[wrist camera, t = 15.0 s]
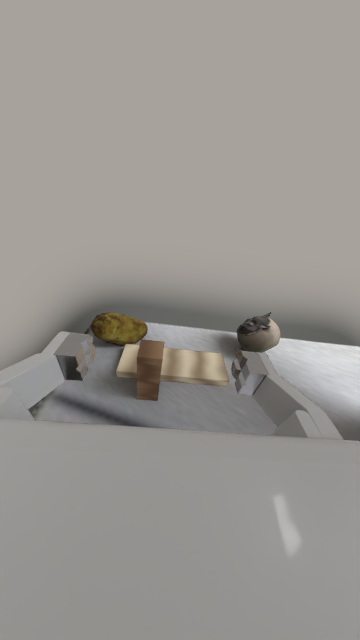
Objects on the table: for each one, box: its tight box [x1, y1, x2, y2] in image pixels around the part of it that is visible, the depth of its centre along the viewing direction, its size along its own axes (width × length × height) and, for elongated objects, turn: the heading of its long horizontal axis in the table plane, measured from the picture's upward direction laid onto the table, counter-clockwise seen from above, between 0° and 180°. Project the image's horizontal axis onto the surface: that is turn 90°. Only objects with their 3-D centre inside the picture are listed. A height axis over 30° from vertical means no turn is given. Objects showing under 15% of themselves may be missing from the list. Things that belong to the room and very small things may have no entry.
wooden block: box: [137, 339, 164, 401], centre depth 35 cm, size 4×11×12 cm, turn 0°
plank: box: [116, 344, 229, 386], centre depth 41 cm, size 24×8×2 cm, turn 90°
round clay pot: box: [236, 312, 280, 353], centre depth 46 cm, size 10×12×10 cm
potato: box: [91, 313, 148, 345], centre depth 44 cm, size 8×13×8 cm, turn 95°
